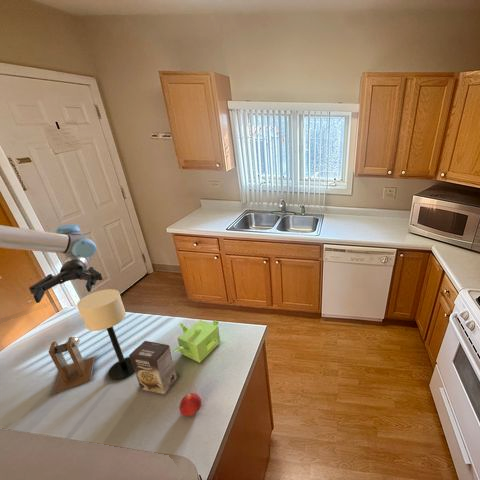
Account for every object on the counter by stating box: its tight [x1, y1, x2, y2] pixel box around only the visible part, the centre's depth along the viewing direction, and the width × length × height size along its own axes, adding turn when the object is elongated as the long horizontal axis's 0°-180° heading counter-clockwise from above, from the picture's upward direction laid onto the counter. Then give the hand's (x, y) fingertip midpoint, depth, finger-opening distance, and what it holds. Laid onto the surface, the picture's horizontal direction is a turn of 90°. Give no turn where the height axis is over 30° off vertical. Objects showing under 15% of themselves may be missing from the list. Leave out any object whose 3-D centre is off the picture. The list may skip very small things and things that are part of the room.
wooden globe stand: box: [48, 336, 96, 395], centre depth 84 cm, size 11×9×15 cm
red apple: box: [179, 392, 202, 417], centre depth 76 cm, size 6×6×8 cm
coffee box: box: [128, 340, 178, 395], centre depth 82 cm, size 9×6×16 cm
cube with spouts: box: [174, 319, 221, 363], centre depth 97 cm, size 15×14×11 cm
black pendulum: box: [56, 336, 81, 354], centre depth 85 cm, size 12×4×4 cm, turn 34°
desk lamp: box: [76, 288, 135, 381], centre depth 83 cm, size 10×10×31 cm
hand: (63, 293), depth 91 cm, fingers open, 13 cm apart
